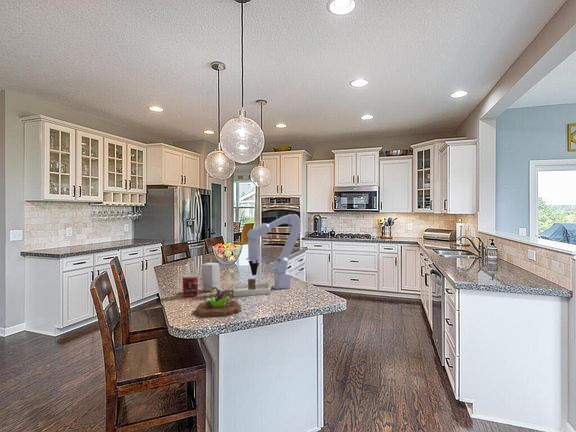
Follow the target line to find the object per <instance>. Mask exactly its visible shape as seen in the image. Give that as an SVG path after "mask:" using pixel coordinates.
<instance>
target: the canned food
mask: <svg viewBox="0 0 576 432" xmlns="http://www.w3.org/2000/svg"><path fill="white" fill-rule="evenodd" d="M198 281H199V278H198V274H196V273H195V274H194V273H191V274H189V273H188V274H184V275H183V276H182V294H183V295H182V296H183V298H185V299H186V298H188V299H190V297H191V298H196V297H198V294H199V288H198V287H199V286H198V285H199V282H198Z"/></svg>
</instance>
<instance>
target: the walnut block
mask: <svg viewBox="0 0 576 432" xmlns="http://www.w3.org/2000/svg"><path fill="white" fill-rule="evenodd" d="M247 284H248V290H252V289H256V286H255V284H256V278H248V279H247Z"/></svg>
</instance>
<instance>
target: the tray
mask: <svg viewBox="0 0 576 432" xmlns="http://www.w3.org/2000/svg"><path fill="white" fill-rule="evenodd" d="M255 286H256V289H252V290H248V283H246V284H245V283H244V284H234V285H233V291H232V292H233V293H232V295H233V297H242V296H243V297H244V296H259V295H260V296H261V295H271V294H272V289H271V286H270V283H269V282H264V283H255Z"/></svg>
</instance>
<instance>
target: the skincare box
mask: <svg viewBox="0 0 576 432" xmlns="http://www.w3.org/2000/svg"><path fill="white" fill-rule="evenodd" d="M220 273H221V272H220V263H219V262H206V263H202V264H201V276H202V277H201V278H202V279H201V280H202V291H204V292H210V293H211V292H212V293H215V292H217V290H216V288H217V289H218V290H221V275H220ZM212 287H216V288H215V289H214V291H211V288H212Z"/></svg>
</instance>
